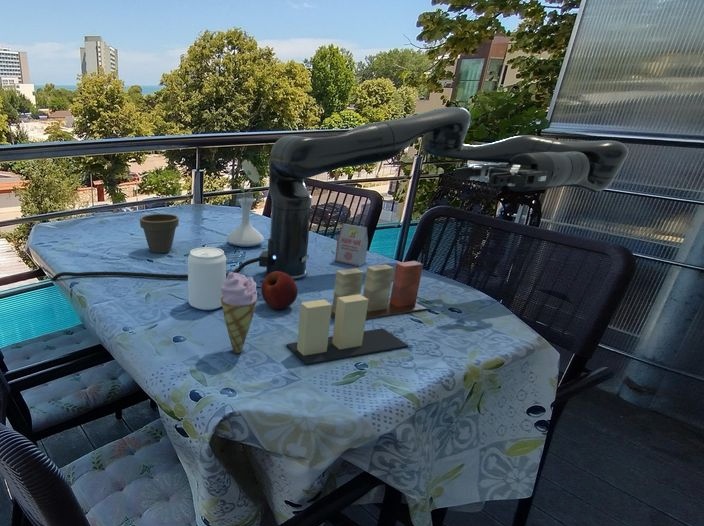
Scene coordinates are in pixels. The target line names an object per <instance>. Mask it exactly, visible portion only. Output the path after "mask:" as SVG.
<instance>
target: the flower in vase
mask: <svg viewBox="0 0 704 526" xmlns="http://www.w3.org/2000/svg"><path fill="white" fill-rule="evenodd" d="M241 167H242V170H243V172H244V173H245V178H244V180H243V183H242V186H241V185H239V186H240V188H239V191H241V192H242V193H243V198H238V199H237V201H238V203H239V204H240V208H241V223H240V224H239V226H238V227H236V228H235V229H234V230H232V231H231V232H230V233H229V234H228V235H227V237H226V241H227V242H228V244H230V245H232V246H236V247H243V248H244V247H245V248H246V247H248V248H249V247H255V246H258V245H261V244H263V242H264V241H265V238H264V236H263V234H262V233H261V232H259V231H258V230H257V229H256V228H255V227H253V226H252V224H251V220H250V218H251V216H250V215H251V209H252V206H253V203H254V202H255V201H256V200H255V198H252V197H251V198H249V197H246V195H248V194H249V193H251V192H252V191H253V189H252V188H250V189H249V190H248V191H246V192H245V183H246V180H247V178H249V180H250V181H252V183H255V184H257V183H260V182H261V180H260V178H261V176H260V174H259V171H258V168H257V167H256V166H254V163H252V161H250V160H249V161H248V160H247V159H244V160H243V161H242V162H241Z"/></svg>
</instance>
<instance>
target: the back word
mask: <svg viewBox="0 0 704 526" xmlns="http://www.w3.org/2000/svg"><path fill="white" fill-rule="evenodd" d="M394 272H395V268H394V267H393V266H390V265H388V264H378V265H370V266H366V271H365V280H364V287H363V292H362V291H361V290H362V284H363V277H364V271H363V270H361V269H358V268H357V267H356V268H347V269H339V270H336V272H335V281H334V288H333V289H334V290H333V297H332V309H331V318H333V319H335V314H336V305H337V297H344V296H351V295H358V294H360V295H361V293H363V294H362V296H364V297H366V298H367V299H369V300H368V307H367V314H366V320H373V319H378V318H379V319H380V318H384V317H392V316H397V315H404V314H410V313H416V312H423V311H427V310H428V307H426V306H424V305H421V304H420V303H417V302H416V304H415V305H409V306H403V307H396V306H394V305H392V304H391V303H390V298H391V297H390V296H391V290H392V284H393V278H394Z"/></svg>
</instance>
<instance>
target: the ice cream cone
mask: <svg viewBox="0 0 704 526" xmlns="http://www.w3.org/2000/svg"><path fill="white" fill-rule="evenodd" d="M228 273H229V274H228V276H226V281H225V283H224V285H223V286H222V287H221V291H222V295H223V296H222V297H221V303H222V306H221V307H222V314H223V319H224V323H225V327H226V330H227V334H228V337H229V341H230V345H231V348H232V352H233V353H235V354H240V353H241V352H242V350H243V348H244V345H245V342H246V339H247V336H248V333H249V330H250V327H251V324H252V321H253V317H254V313H255V307H256V304H257V300H258V293H257V282H255V280H254V278H253V277H247V276H246V275H244V274H240V273H233V271H230V272H228Z"/></svg>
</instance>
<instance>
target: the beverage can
mask: <svg viewBox="0 0 704 526" xmlns="http://www.w3.org/2000/svg"><path fill="white" fill-rule="evenodd" d="M226 274H227V256H226V255H225V251H224V250H223V249H222V248H219V247H213V246H201V247H195V248H193V249H190V251H189V254H188V256H187V275H188V279H187V288H188V289H187V290H188V291H187V296H188V304H189V305H190V306H191V307H192V308H195V309H197V310H203V311H212V310H216V309H219V308H221V307H222V303H221V297H222V296H223V295H222V291H221V287H222V286H223V285H224V283H225V281H226V280H227V277H226Z"/></svg>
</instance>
